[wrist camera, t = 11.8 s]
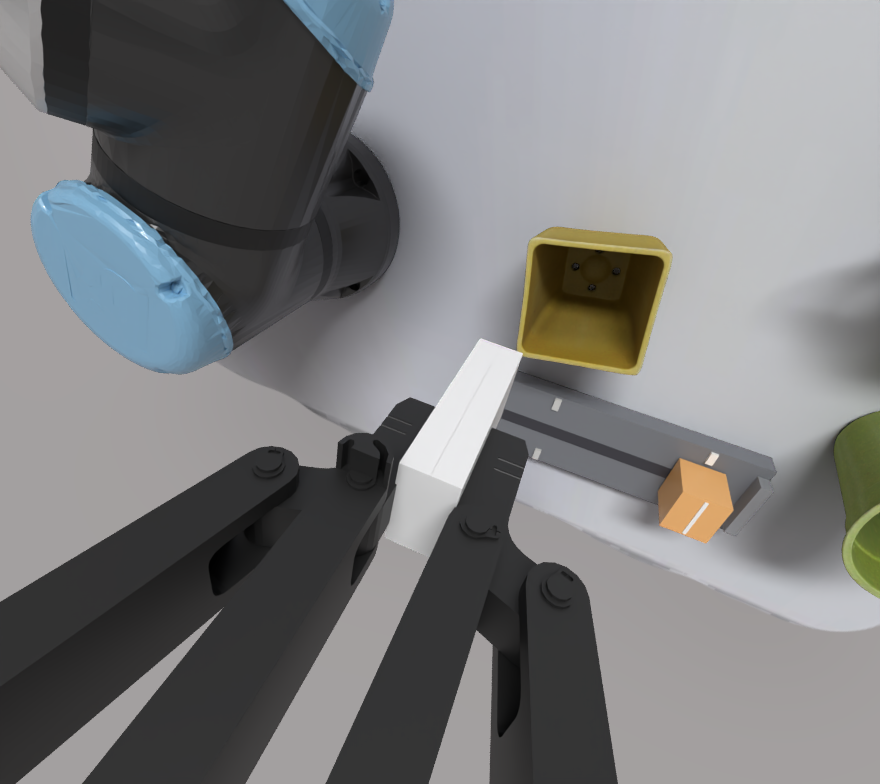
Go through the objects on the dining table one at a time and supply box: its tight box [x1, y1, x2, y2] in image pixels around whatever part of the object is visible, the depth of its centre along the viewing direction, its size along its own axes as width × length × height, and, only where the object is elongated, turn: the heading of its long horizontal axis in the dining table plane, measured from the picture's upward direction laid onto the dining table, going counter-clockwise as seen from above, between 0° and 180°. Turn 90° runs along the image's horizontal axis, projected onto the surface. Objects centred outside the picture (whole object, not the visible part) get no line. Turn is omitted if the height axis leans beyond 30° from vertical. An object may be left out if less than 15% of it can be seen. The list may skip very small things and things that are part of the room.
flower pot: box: [517, 227, 672, 375], centre depth 35 cm, size 9×9×9 cm
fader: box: [658, 458, 734, 543], centre depth 41 cm, size 4×4×5 cm
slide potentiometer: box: [496, 371, 777, 536], centre depth 45 cm, size 26×8×4 cm, turn 80°
